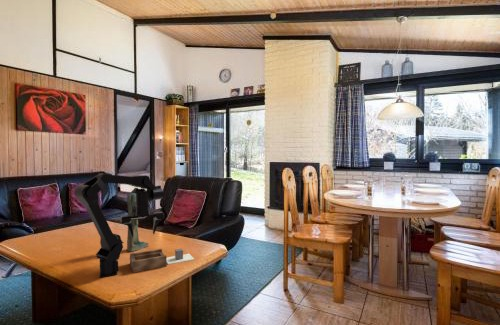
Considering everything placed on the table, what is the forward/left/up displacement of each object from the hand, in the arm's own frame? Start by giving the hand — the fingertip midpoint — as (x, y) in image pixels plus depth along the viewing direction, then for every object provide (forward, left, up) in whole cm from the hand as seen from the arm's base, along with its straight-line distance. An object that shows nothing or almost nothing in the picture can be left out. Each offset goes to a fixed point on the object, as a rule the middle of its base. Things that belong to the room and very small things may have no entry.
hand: (143, 235), depth 133 cm
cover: (+15, -6, -13) cm, 20 cm away
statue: (-1, +22, -12) cm, 25 cm away
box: (+1, -6, -12) cm, 13 cm away
